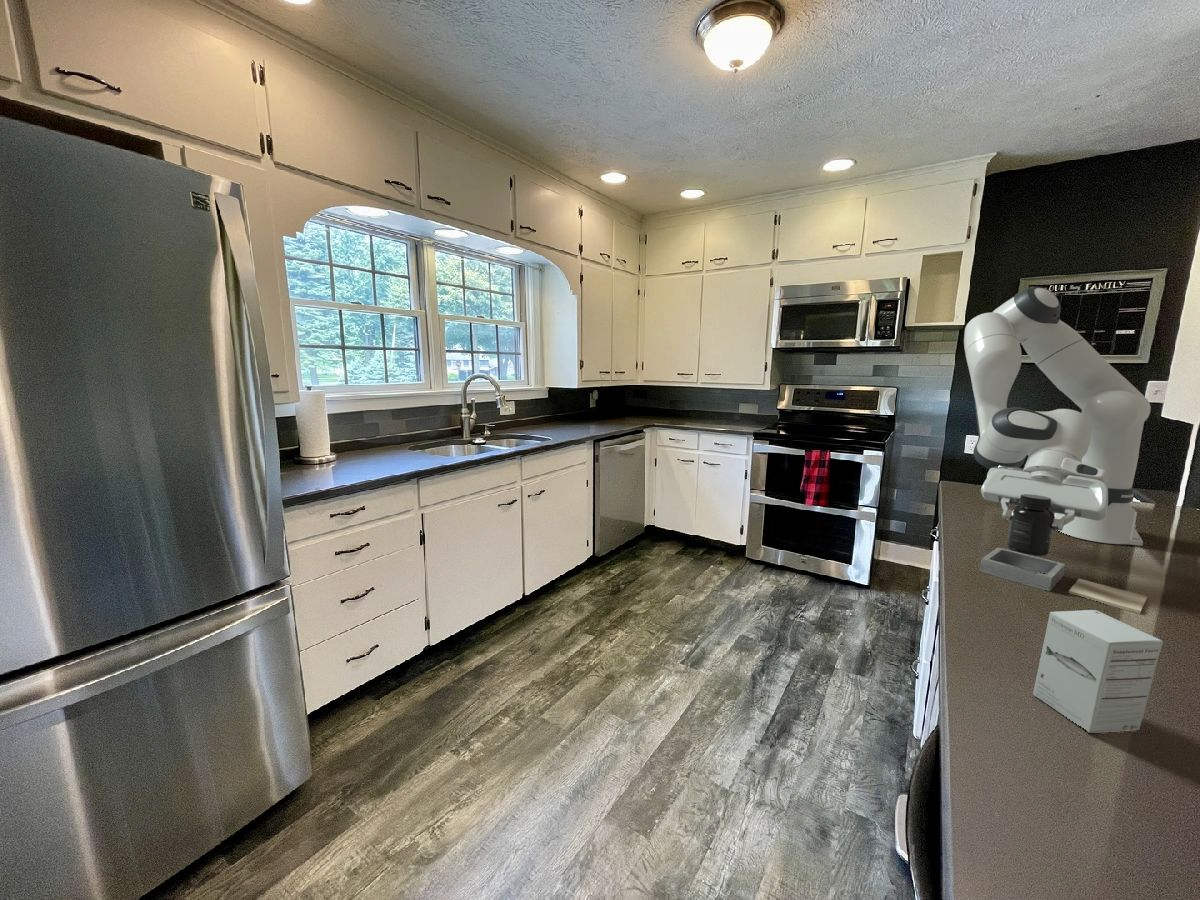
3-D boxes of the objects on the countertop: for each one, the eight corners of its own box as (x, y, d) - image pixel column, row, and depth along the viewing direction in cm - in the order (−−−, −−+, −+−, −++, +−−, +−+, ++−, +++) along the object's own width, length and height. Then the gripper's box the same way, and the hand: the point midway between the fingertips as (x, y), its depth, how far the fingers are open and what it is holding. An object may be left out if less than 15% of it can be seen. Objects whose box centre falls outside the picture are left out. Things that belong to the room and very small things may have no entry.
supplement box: (1030, 695, 66) (1046, 610, 63) (1079, 692, 66) (1097, 608, 64) (1088, 736, 58) (1109, 642, 56) (1143, 733, 59) (1166, 639, 57)
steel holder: (995, 559, 112) (997, 547, 111) (1062, 577, 103) (1065, 564, 102) (979, 571, 105) (981, 558, 104) (1049, 591, 96) (1052, 577, 95)
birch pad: (1078, 581, 101) (1079, 578, 101) (1146, 599, 93) (1147, 596, 93) (1068, 593, 95) (1068, 590, 95) (1139, 614, 88) (1140, 611, 87)
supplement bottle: (1057, 558, 98) (1067, 501, 97) (1019, 555, 100) (1028, 499, 98) (1034, 546, 105) (1043, 493, 103) (999, 544, 106) (1007, 491, 105)
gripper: (989, 456, 112) (969, 503, 108) (1116, 472, 96) (1098, 528, 91) (993, 472, 115) (973, 518, 111) (1116, 490, 99) (1098, 545, 95)
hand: (1030, 523), depth 101 cm, fingers closed on supplement bottle, 7 cm apart
